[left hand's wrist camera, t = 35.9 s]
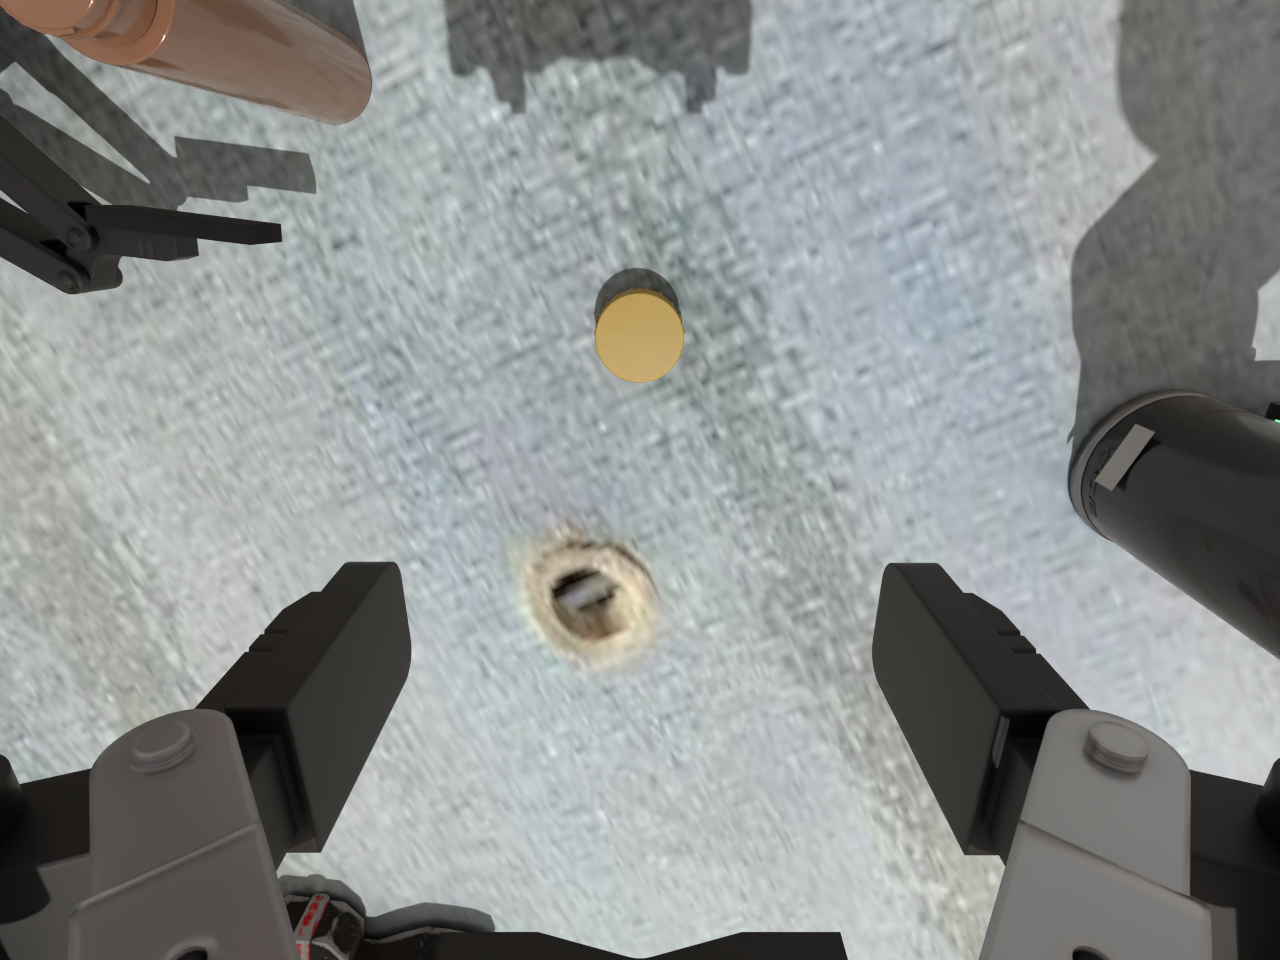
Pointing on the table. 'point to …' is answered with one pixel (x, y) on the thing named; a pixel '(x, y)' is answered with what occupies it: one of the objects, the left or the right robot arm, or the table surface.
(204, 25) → the jar
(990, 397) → the table surface
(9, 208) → the right robot arm
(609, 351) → the lid
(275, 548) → the table surface
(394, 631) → the left robot arm
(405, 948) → the gun
